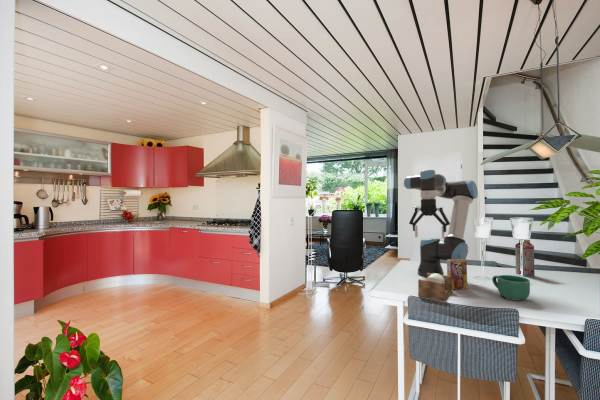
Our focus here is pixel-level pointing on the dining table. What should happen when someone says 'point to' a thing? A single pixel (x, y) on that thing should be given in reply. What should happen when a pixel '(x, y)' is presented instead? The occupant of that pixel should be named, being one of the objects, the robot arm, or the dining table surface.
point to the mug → (512, 286)
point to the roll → (436, 278)
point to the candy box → (457, 273)
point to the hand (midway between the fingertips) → (429, 237)
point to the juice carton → (525, 258)
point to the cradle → (435, 288)
